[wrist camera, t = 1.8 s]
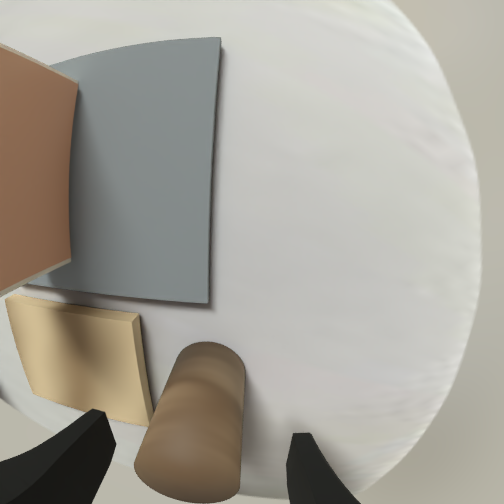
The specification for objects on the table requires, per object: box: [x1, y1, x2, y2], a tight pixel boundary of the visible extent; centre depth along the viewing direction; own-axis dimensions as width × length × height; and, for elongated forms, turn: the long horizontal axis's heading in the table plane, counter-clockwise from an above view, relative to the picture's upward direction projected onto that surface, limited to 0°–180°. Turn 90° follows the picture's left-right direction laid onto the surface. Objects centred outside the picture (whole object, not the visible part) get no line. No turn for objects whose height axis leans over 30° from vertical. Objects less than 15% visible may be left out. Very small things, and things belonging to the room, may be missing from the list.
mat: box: [27, 37, 221, 304], centre depth 12 cm, size 12×12×1 cm
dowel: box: [134, 342, 245, 504], centre depth 11 cm, size 4×4×7 cm
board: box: [5, 294, 154, 427], centre depth 14 cm, size 9×7×1 cm
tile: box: [0, 43, 78, 297], centre depth 8 cm, size 2×9×7 cm, turn 177°
